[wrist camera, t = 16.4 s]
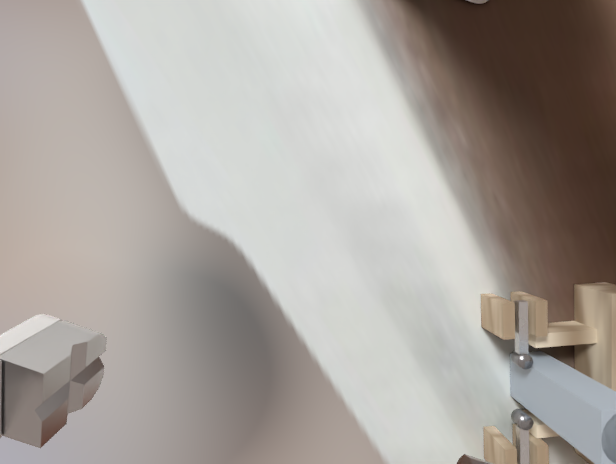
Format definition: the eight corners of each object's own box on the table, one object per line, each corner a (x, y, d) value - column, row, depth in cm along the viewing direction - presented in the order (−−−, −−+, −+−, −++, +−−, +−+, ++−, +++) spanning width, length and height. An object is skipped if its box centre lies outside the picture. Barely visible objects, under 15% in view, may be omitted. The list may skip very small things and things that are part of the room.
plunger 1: (510, 364, 33) (519, 370, 32) (509, 299, 33) (518, 303, 31) (524, 363, 33) (533, 368, 32) (523, 298, 33) (532, 302, 32)
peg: (510, 395, 36) (601, 469, 26) (510, 353, 35) (601, 411, 25) (551, 392, 36) (657, 463, 26) (551, 350, 36) (657, 405, 26)
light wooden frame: (484, 461, 36) (510, 493, 32) (480, 290, 35) (507, 301, 31) (604, 448, 37) (644, 477, 33) (605, 282, 36) (646, 291, 32)
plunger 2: (512, 471, 34) (520, 481, 32) (511, 409, 33) (519, 417, 32) (525, 470, 34) (534, 479, 33) (524, 408, 33) (533, 415, 32)
